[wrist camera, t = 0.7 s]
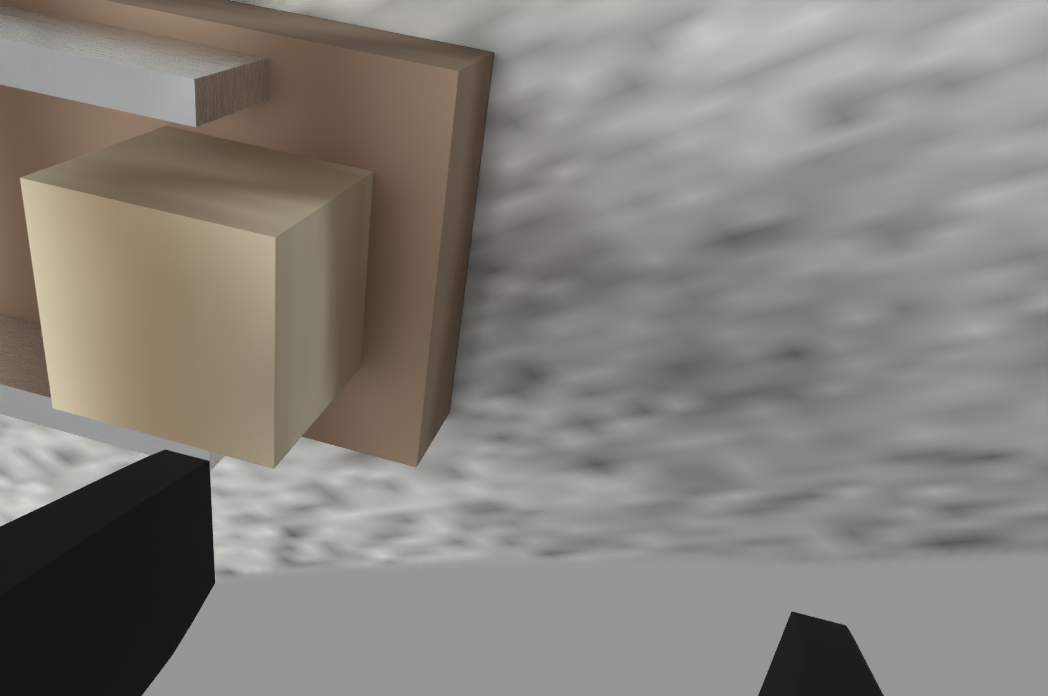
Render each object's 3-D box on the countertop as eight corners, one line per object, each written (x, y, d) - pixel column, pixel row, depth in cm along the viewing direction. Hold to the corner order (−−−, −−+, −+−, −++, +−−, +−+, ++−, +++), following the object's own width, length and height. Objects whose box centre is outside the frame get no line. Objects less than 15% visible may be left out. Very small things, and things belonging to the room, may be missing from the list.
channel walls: (268, 57, 16) (194, 79, 14) (267, 411, 20) (209, 471, 18) (-75, -13, 17) (-194, -3, 15) (-12, 337, 21) (-100, 386, 19)
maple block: (373, 171, 17) (276, 237, 13) (360, 367, 19) (274, 468, 15) (165, 125, 17) (19, 177, 14) (176, 320, 19) (52, 408, 16)
